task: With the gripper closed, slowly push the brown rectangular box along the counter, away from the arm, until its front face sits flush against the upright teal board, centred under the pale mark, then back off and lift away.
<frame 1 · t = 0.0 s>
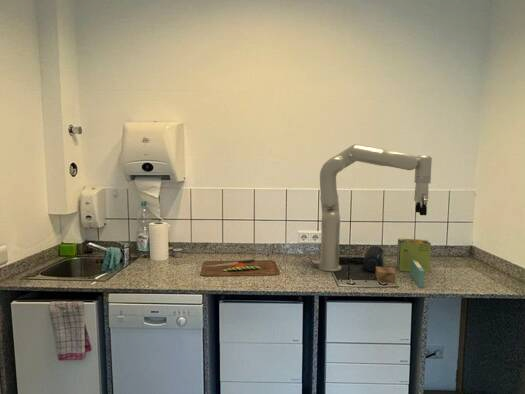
hand: (420, 213, 202), 31 cm above the worktop, tool pointing down, fingers open, 9 cm apart
protein box: (412, 269, 213), on the worktop
brown rectangular box: (384, 279, 196), on the worktop
chopping board: (239, 270, 211), on the worktop
portable speaker: (373, 267, 217), on the worktop
teal board: (416, 280, 193), on the worktop
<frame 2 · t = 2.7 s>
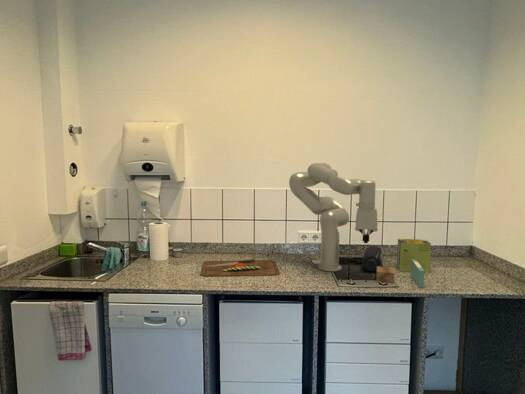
hand: (365, 242, 195), 18 cm above the worktop, tool pointing down, fingers closed
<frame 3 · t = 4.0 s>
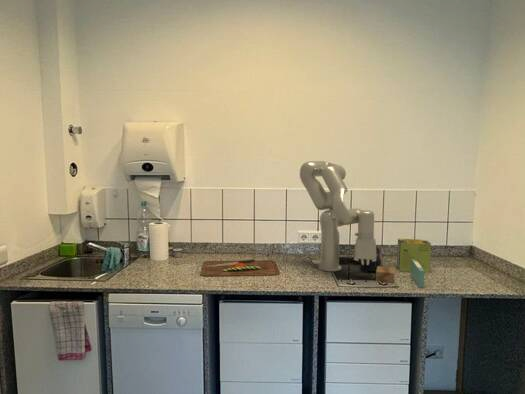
hand: (364, 272, 197), 3 cm above the worktop, tool pointing down, fingers closed
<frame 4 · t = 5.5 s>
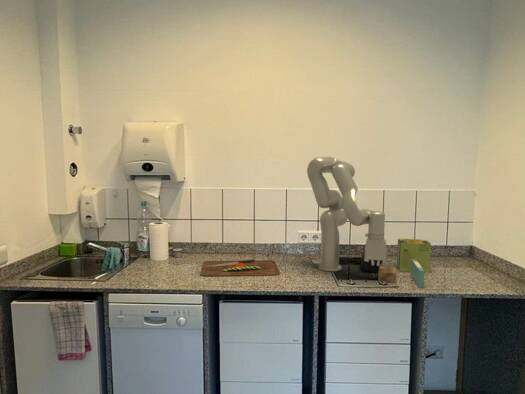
hand: (374, 273, 196), 3 cm above the worktop, tool pointing down, fingers closed
brown rectangular box: (387, 279, 196), on the worktop
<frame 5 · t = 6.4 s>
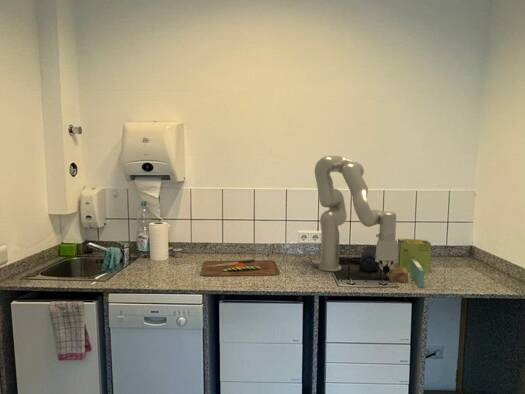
hand: (385, 273, 195), 3 cm above the worktop, tool pointing down, fingers closed
brown rectangular box: (397, 279, 196), on the worktop, touching gripper
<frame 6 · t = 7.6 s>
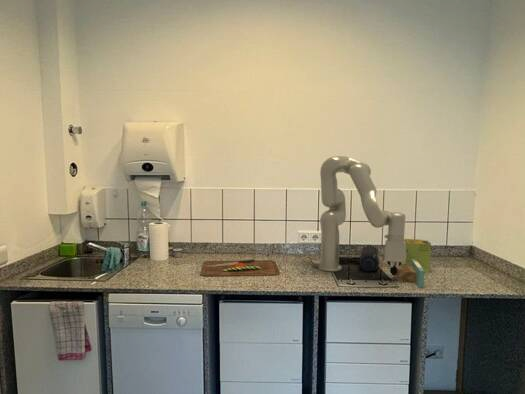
hand: (393, 274, 195), 2 cm above the worktop, tool pointing down, fingers closed
brown rectangular box: (405, 279, 196), on the worktop, touching gripper, teal board
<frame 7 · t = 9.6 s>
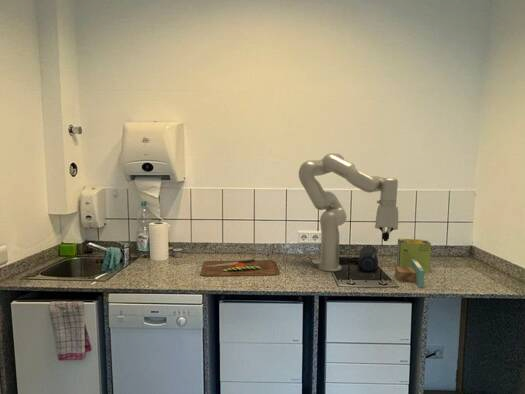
hand: (385, 240, 194), 19 cm above the worktop, tool pointing down, fingers closed
brown rectangular box: (405, 279, 196), on the worktop
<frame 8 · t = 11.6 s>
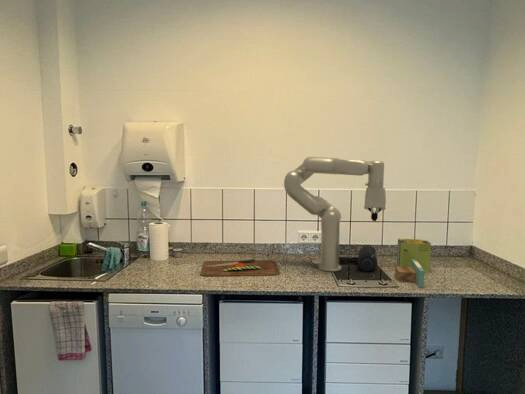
hand: (374, 220, 204), 27 cm above the worktop, tool pointing down, fingers closed
at the end: brown rectangular box 2.5 cm from the target spot on the worktop beside the teal board, on the worktop; brown rectangular box tilted 0° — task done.
